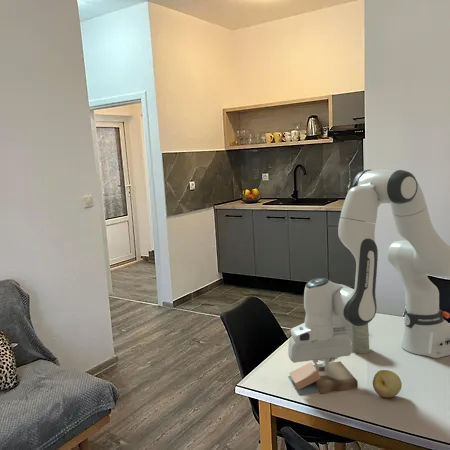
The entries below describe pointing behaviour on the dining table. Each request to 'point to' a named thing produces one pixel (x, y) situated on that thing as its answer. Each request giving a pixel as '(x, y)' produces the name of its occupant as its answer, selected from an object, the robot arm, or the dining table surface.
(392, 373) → the fruit
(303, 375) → the terracotta tile
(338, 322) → the grey block
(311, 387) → the slate mat
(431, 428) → the dining table surface
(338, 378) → the walnut stand
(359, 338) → the skincare box
